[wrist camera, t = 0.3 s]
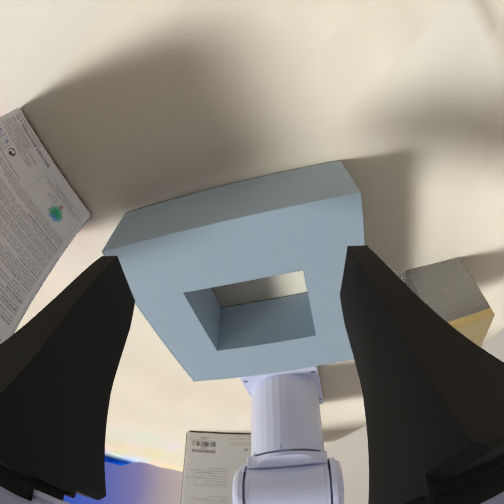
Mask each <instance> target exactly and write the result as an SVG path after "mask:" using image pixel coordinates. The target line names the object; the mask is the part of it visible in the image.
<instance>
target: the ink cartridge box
mask: <svg viewBox="0 0 504 504" xmlns="http://www.w3.org/2000/svg"><path fill="white" fill-rule="evenodd" d="M89 218H90V212H89V211H88V210H87V208H86V207H85V206H84V204H83V203H82V202H81V200H80V199H79V198H78V196H77V195H76V193H75V192H74V191H73V189H72V188H71V186H70V185H69V184H68V182H67V181H66V179H65V178H64V177H63V175H62V174H61V172H60V171H59V169H58V168H57V166H56V165H55V163H54V162H53V160H52V159H51V157H50V156H49V154H48V153H47V151H46V150H45V148H44V146H43V145H42V143H41V142H40V140H39V138H38V137H37V135H36V134H35V132H34V131H33V129H32V127H31V126H30V124H29V123H28V121H27V119H26V117H25V116H24V114H23V112H22V110H21V109H20V108H18V109H15V110H13V111H11V112H9V113H7V114H5V115H3V116H2V117H0V344H1V343H2V342H4V341H5V340H7V339H8V338H9V337H11V336H12V335H13V334H14V332H15V330H16V328H17V327H18V325H19V323H20V321H21V319H22V318H23V316H24V314H25V312H26V311H27V309H28V307H29V305H30V304H31V302H32V300H33V299H34V297H35V295H36V294H37V292H38V291H39V289H40V287H41V286H42V284H43V283H44V281H45V279H46V278H47V276H48V275H49V273H50V272H51V270H52V269H53V267H54V266H55V264H56V262H57V261H58V260H59V258H60V257H61V255H62V254H63V252H64V251H65V249H66V248H67V247H68V245H69V244H70V242H71V241H72V240H73V238H74V237H75V236H76V234H77V233H78V231H79V230H80V229H81V228H82V226H83V225H84V224H85V222H86V221H87V220H88V219H89Z"/></svg>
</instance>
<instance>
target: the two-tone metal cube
mask: <svg viewBox="0 0 504 504" xmlns="http://www.w3.org/2000/svg"><path fill="white" fill-rule="evenodd" d="M405 284H406V285H407V286H408V287H409V288H410V289H411V290H412V291H413V292H414V293H415V294H416V295H417V296H418V297H419V298H420V299H421V300H422V301H424V302H425V303H426V304H427V305H428V306H429V307H430V308H431V309H432V310H433V311H435V312H436V313H437V314H438V315H439V316H440V317H442V318H443V319H444V320H445V321H446V322H448V323H449V324H450V325H451V326H453V327H454V328H455V329H456V330H458V331H459V332H460V333H461V334H463V335H464V336H465V337H467V338H468V339H469V340H471V341H472V342H474V343H475V344H476V345H478V346H479V347H480V346H481V344H482V342H483V340H484V338H485V336H486V333H487V331H488V329H489V327H490V324H491V322H492V320H493V318H494V313H493V311H492V309H491V308H490V306H489V304H488V302H487V301H486V299H485V297H484V296H483V294H482V293H481V291H480V289H479V288H478V286H477V285H476V283H475V281H474V280H473V278H472V277H471V275H470V274H469V272H468V271H467V269H466V268H465V266H464V265H463V263H462V262H461V260H460V259H459V257H458V258H454V259H450V260H446V261H442V262H438V263H435V264H431V265H427V266H422V267H418V268H414V269H410V270H407V271H406V282H405Z"/></svg>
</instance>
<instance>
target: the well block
mask: <svg viewBox="0 0 504 504" xmlns="http://www.w3.org/2000/svg"><path fill="white" fill-rule="evenodd" d="M361 245H365V240H364V224H363V211H362V199H361V192H360V190H359V188H358V187H357V185H356V184H355V182H354V180H353V179H352V177H351V176H350V174H349V173H348V171H347V170H346V168H345V167H344V165H343V163H342V162H341V160H339V161H333V162H328V163H323V164H318V165H313V166H308V167H303V168H298V169H294V170H289V171H284V172H280V173H275V174H271V175H266V176H262V177H258V178H253V179H249V180H245V181H241V182H237V183H233V184H228V185H224V186H221V187H217V188H213V189H209V190H205V191H201V192H197V193H194V194H190V195H186V196H183V197H179V198H175V199H172V200H168V201H165V202H161V203H158V204H155V205H151V206H148V207H144V208H141V209H138V210H134V211H131V212H128V213H125V214H124V216H123V218H122V219H121V221H120V222H119V224H118V226H117V227H116V229H115V230H114V232H113V234H112V235H111V237H110V239H109V240H108V242H107V244H106V245H105V247H104V249H103V251H102V253H103V255H104V256H118V258H119V261H120V264H121V266H122V269H123V272H124V274H125V277H126V279H127V282H128V284H129V287H130V289H131V292H132V294H133V297H134V299H135V304H136V305H137V307H138V308H139V310H140V311H141V313H142V314H143V315H144V317H145V318H146V320H147V321H148V322H149V324H150V325H151V327H152V328H153V329H154V331H155V332H156V333H157V335H158V336H159V337H160V339H161V340H162V341H163V343H164V344H165V345H166V347H167V348H168V349H169V351H170V352H171V353H172V355H173V356H174V357H175V358H176V360H177V361H178V362H179V364H180V365H181V366H182V367H183V369H184V370H185V371H186V372H187V374H188V375H189V376H190V377H191V378H192V380H193V381H206V380H217V379H228V378H237V377H246V376H255V375H262V374H270V373H277V372H284V371H290V370H296V369H302V368H308V367H314V366H320V365H325V364H330V363H335V362H340V361H345V360H350V359H354V356H353V353H352V349H351V346H350V342H349V338H348V335H347V331H346V328H345V324H344V319H343V313H342V307H341V300H340V290H341V284H342V278H343V272H344V266H345V260H346V253H347V246H361ZM301 270H303V272H304V277H305V282H306V287H307V293H302V294H297V295H291V296H286V297H281V298H275V299H270V300H264V301H259V302H253V303H248V304H242V305H236V306H230V307H224V308H221V306H220V304H219V302H218V300H217V298H216V296H215V294H214V292H213V290H212V287H218V286H223V285H229V284H234V283H239V282H245V281H250V280H255V279H260V278H266V277H271V276H276V275H281V274H286V273H291V272H296V271H301Z"/></svg>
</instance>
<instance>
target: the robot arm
mask: <svg viewBox="0 0 504 504" xmlns="http://www.w3.org/2000/svg"><path fill="white" fill-rule="evenodd" d="M340 300H341V307H342V313H343V319H344V324H345V328H346V331H347V335H348V338H349V342H350V346H351V349H352V353H353V356H354V360H355V364H356V367H357V371H358V375H359V379H360V383H361V388H362V392H363V399H364V407H365V415H366V424H367V436H368V451H369V503H368V504H504V362H502V361H500V360H499V359H497V358H495V357H494V356H493V355H491V354H489V353H488V352H486V351H485V350H484V349H482V348H481V347H479V346H478V345H476V344H475V343H474V342H472V341H471V340H469V339H468V338H467V337H465V336H464V335H463V334H461V333H460V332H459V331H458V330H456V329H455V328H454V327H453V326H451V325H450V324H449V323H448V322H446V321H445V320H444V319H443V318H442V317H440V316H439V315H438V314H437V313H436V312H435V311H433V310H432V309H431V308H430V307H429V306H428V305H427V304H426V303H425V302H424V301H422V300H421V299H420V298H419V297H418V296H417V295H416V294H415V293H414V292H413V291H412V290H411V289H410V288H409V287H408V286H407V285H406V284H405V283H404V282H403V281H402V280H401V279H400V278H399V277H398V276H397V275H396V274H395V273H394V272H393V271H392V270H391V269H390V268H389V267H388V266H387V265H386V264H385V263H384V262H383V261H382V260H381V259H380V258H379V257H378V256H377V255H376V254H375V253H374V252H373V251H372V250H371V249H370V248H369V247H368V246H367V245H361V246H347V253H346V260H345V266H344V272H343V278H342V284H341V290H340ZM134 305H135V299H134V297H133V294H132V292H131V289H130V287H129V284H128V282H127V279H126V277H125V274H124V272H123V269H122V266H121V264H120V261H119V258H118V256H102V257H100V258H99V259H98V260H96V261H95V262H94V263H93V264H91V265H90V266H89V267H88V268H87V269H86V270H85V271H84V272H82V273H81V274H80V275H79V276H78V277H77V278H76V279H75V280H74V281H73V282H72V283H71V284H69V285H68V286H67V287H66V288H65V289H64V290H63V291H62V292H61V293H60V294H59V295H58V296H57V297H56V298H55V299H53V300H52V301H51V302H50V303H49V304H48V305H47V306H46V307H45V308H44V309H42V310H41V311H40V312H39V313H38V314H37V315H36V316H35V317H34V318H33V319H31V320H30V321H29V322H28V323H27V324H26V325H24V326H23V327H22V328H21V329H19V330H18V331H17V332H16V333H14V334H13V335H12V336H11V337H9V338H8V339H7V340H5V341H4V342H2V343H1V344H0V504H70V503H67V502H64V501H63V498H64V495H66V496H69V497H72V498H74V497H75V495H76V493H77V494H80V495H83V496H86V497H90V498H93V499H96V500H100V499H102V498H104V497H105V496H106V488H105V468H104V456H105V434H106V423H107V414H108V407H109V400H110V394H111V390H112V385H113V381H114V378H115V375H116V371H117V368H118V365H119V361H120V358H121V355H122V352H123V349H124V346H125V342H126V339H127V336H128V333H129V330H130V326H131V321H132V316H133V310H134ZM240 380H241V381H242V383H243V385H244V386H245V388H246V389H247V391H248V393H249V394H250V396H251V397H252V404H251V457H247V464H246V465H241V466H240V467H239V469H238V470H236V472H235V474H234V478H233V486H232V500H233V504H344V484H343V476H342V470H341V466H340V463H339V462H338V461H337V460H335V458H333V457H332V458H328V461H327V452H326V451H324V443H323V433H322V424H321V415H320V406H319V404H322V403H323V402H324V399H323V394H322V388H321V383H320V378H319V372H318V367H317V366H314V367H308V368H302V369H296V370H290V371H284V372H277V373H270V374H262V375H255V376H246V377H240Z"/></svg>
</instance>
